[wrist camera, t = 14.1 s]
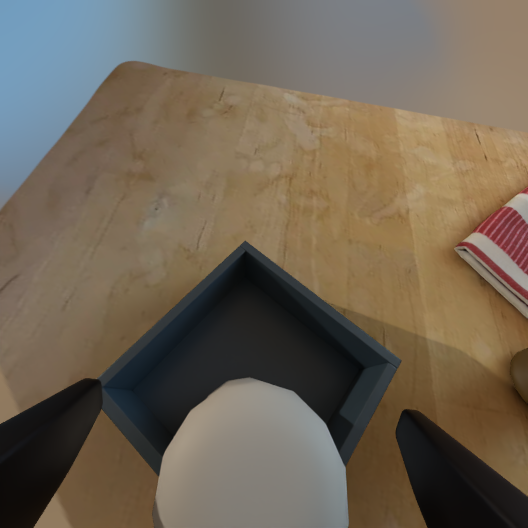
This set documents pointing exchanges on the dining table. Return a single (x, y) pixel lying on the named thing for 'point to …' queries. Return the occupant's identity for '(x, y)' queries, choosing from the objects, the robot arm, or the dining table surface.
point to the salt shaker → (251, 464)
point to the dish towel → (502, 250)
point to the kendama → (520, 373)
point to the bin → (246, 356)
